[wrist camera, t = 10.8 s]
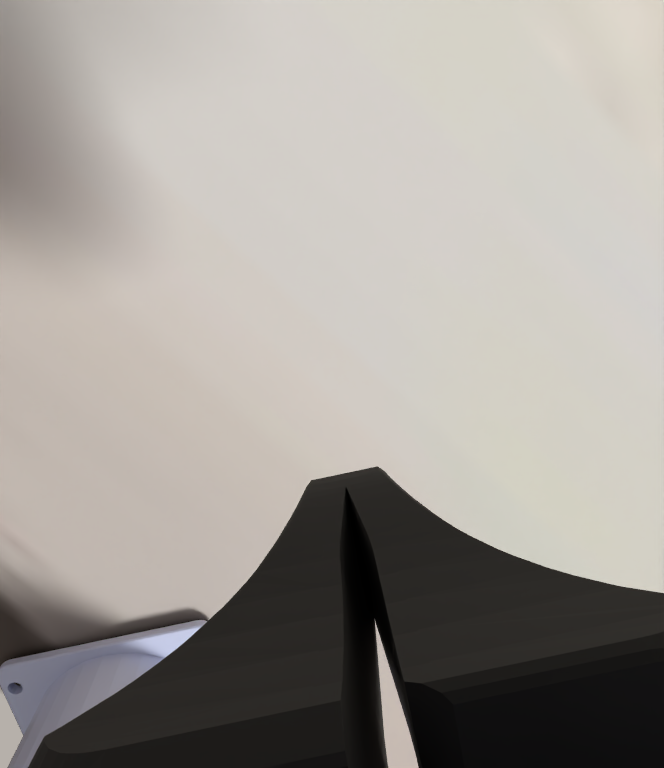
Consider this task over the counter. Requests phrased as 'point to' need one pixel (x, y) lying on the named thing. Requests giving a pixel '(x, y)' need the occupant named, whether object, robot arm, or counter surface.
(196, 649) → the robot arm
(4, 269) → the counter surface
